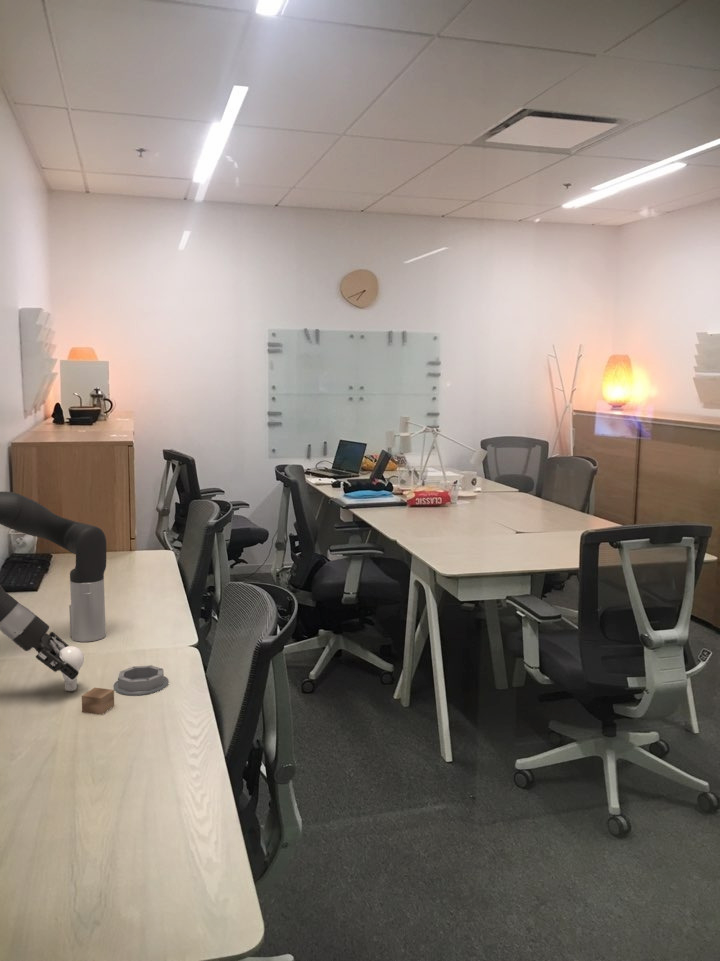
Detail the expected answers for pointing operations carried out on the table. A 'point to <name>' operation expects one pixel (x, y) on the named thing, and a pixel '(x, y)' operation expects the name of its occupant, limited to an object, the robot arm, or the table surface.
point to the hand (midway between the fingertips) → (77, 670)
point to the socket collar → (140, 680)
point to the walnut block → (97, 701)
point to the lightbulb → (72, 664)
